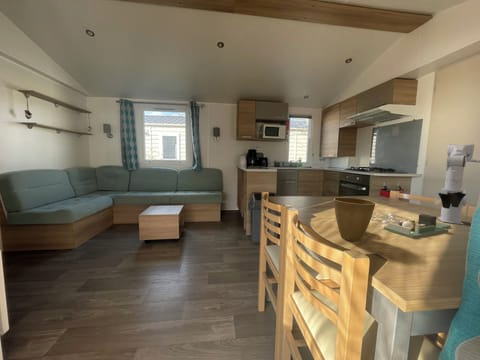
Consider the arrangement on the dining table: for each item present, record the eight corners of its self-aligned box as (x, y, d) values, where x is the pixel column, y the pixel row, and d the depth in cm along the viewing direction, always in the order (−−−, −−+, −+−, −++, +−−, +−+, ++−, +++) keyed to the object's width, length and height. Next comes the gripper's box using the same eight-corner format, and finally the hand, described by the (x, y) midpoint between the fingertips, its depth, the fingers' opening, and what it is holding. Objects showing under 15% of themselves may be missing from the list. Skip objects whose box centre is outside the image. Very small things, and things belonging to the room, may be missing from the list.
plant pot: (379, 247, 76) (382, 205, 74) (336, 243, 79) (339, 202, 77) (363, 233, 91) (366, 197, 89) (328, 230, 94) (330, 196, 92)
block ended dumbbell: (423, 223, 101) (424, 214, 101) (435, 227, 96) (436, 216, 96) (404, 226, 96) (405, 216, 96) (416, 230, 91) (418, 219, 91)
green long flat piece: (428, 222, 109) (429, 216, 108) (459, 229, 97) (459, 223, 97) (383, 229, 96) (384, 223, 96) (412, 238, 85) (413, 231, 85)
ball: (398, 221, 95) (402, 227, 96) (403, 227, 91) (406, 233, 92) (408, 218, 93) (411, 223, 94) (413, 223, 90) (416, 229, 91)
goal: (396, 226, 97) (397, 218, 97) (418, 233, 89) (419, 224, 88) (387, 228, 95) (388, 219, 94) (409, 235, 86) (410, 225, 86)
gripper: (451, 179, 105) (448, 204, 106) (434, 179, 100) (431, 206, 101) (470, 180, 98) (467, 208, 100) (453, 181, 93) (450, 210, 94)
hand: (450, 207), depth 100 cm, fingers open, 7 cm apart
